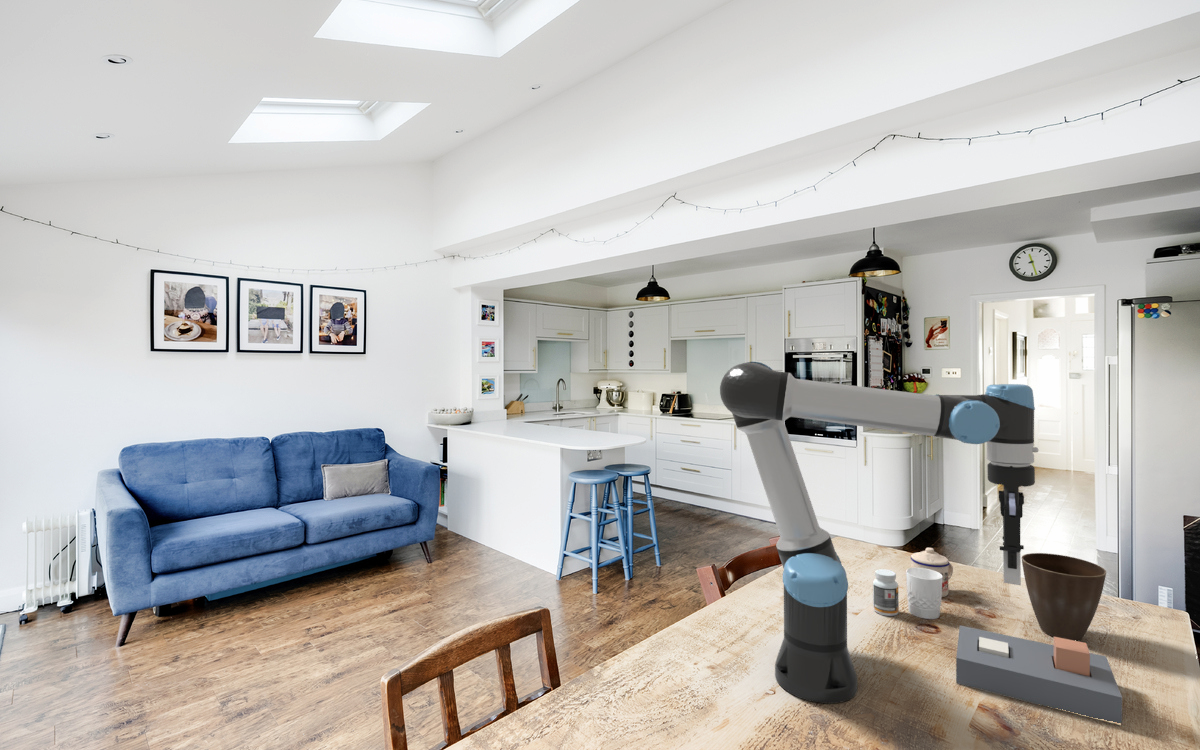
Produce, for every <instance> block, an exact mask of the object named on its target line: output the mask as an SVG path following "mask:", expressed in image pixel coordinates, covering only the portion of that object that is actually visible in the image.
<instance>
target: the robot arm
mask: <svg viewBox="0 0 1200 750" xmlns="http://www.w3.org/2000/svg"><path fill="white" fill-rule="evenodd" d="M719 396H720V399H721V402H722V403H723V405H724V407H725V408H726V409H727V410H728V411H729V412H730V413H731V414H732V417H733V419H734V422H735V426H736V429H738V430H739V431H741V432H743V433H744V434H745V435H746V437H747V440H748V443H749V446H750V449H751V452H752V456H753V458H754V461H755V464H756V467H757V470H758V474H759V476H760V479H761V482H762V486H763V488H764V491H765V495H766V497H767V500H768V504H769V506H770V509H771V513H772V515H773V519H774V521H775V524H776V528H777V531H778V533H779V534H778V535H779V539H778V540H777V542H776V545H775V546H776V549H777V552H778V556H779V559H780V562H781V565H782V568H783V571H782V583H783V639H782V643H781V645H780V648H779V650H778V651H779V652H778V653H777V656H776V660H775V663H774V664H775V665H774V676H775V680H776V681H777V683H778V684H779V686H780V687H781V688H782V689H783V690H785V691H787V692H788V693H790V694H791V695H793V696H796V697H797V698H799V699H803V700H806V701H809V702H814V703H820V704H839V703H840V704H841V703H843V702H847V701H850V700H851V699H852V698H853V699H854V697H855V695H856V694H857V693H858V676H857V672H856V669H855V667H854V664H853V661H852V657H851V654H850V652H849V648H848V590H849V582H848V581H849V580H848V577H847V572H846V569H845V568H844V566H843V565H842V564H843V563H842V561H841V559H840V556H839V555H838V554H837V552H836V549H835V546H834V544H833V541H832V538H831V535H830V532H828V531H827V530H825V529H823V528H821V527H820V525H819V522H818V518H817V515H816V513H815V510H814V506H813V504H812V501H811V498H810V495H809V492H808V490H807V487H806V482H805V481H804V478H803V474H802V471H801V468H800V466H799V463H798V460H797V459H798V458H797V457H796V453H795V451H794V448H793V446H792V441H791V438H790V435H789V432H788V429H787V427H786V424H785V423H786V422H785V421H786V420H788V419H789V418H797V419H798V418H799V419H804V420H805V419H806V420H814V421H818V422H819V421H822V422H828V423H835V424H840V425H841V424H843V425H851V426H857V427H864V428H871V429H878V430H887V431H894V432H901V433H909V434H915V435H923V436H930V437H937V438H943V439H949V440H954V441H955V440H957V441H960V442H962V443H964V444H969V445H970V444H971V445H981V444H985V443H986V459H987V460H988V461H989V462H988V463H987V468H986V469H987V481H989V482H990V483H992V484H995V485H1002V487H1003V490H998V502H999V503H1000V504H999V510H1000V515H1001V516H1002V526H1003V528H1002V533H1003V535H1002V545H1003V546H1002V545H999V550H1000V551H1002V556H1003V557H1002V559H1003V561H1002V562H1003V566H1002V567H1003V569H1002V570H1003V574H1002V575H1003V576H1002V577H1003V583H1004V584H1010V585H1015V586H1022V583H1021V582H1022V578H1021V577H1022V576H1021V575H1022V574H1021V572H1022V571H1021V570H1022V568H1021V563H1022V558H1021V551H1022V550H1024V549H1025V546H1024V545H1023V544H1021V519H1022V518H1023V512H1024V511H1023V505H1024V504H1025V495H1024V492H1020V490H1019V488H1020V487H1031V486H1033V485H1035V483H1036V474H1035V472H1036V471H1035V470H1036V469H1035V467H1034V465H1032V464H1033V463H1035V453H1038V452H1039V448H1038V447H1035V410H1036V408H1035V399H1034V391H1033V388H1032V387H1031V386H1030V385H1027V384H1021V383H1020V384H1018V383H1016V384H1015V383H1012V384H1011V383H1010V384H1009V383H1001V384H1000V383H999V384H995V383H994V384H989V385H988V386H986V391H985V393H983V394H977V395H976V394H973V395H972V394H970V395H969V394H934V395H933V394H928V393H927V394H924V393H918V392H917V393H916V392H910V391H900V390H891V389H884V388H876V387H869V386H867V387H866V386H861V385H860V386H858V385H851V384H841V383H835V382H826V381H817V380H809V379H801V378H795V377H794V376H793V374H792V372H786V371H778V370H773V368H771V367H770V366H768V365H767V364H765V363H762V362H759V361H749V362H748V361H747V362H742V363H739V364H736V365H734V366H732V367H731V368H729V370H727V371H726V373H724V374H723V377H722V379H721V382H720V385H719Z"/></svg>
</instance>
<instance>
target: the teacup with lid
mask: <svg viewBox="0 0 1200 750" xmlns="http://www.w3.org/2000/svg"><path fill="white" fill-rule="evenodd" d="M910 560H911V568H925V569H930V570H934V571H936V572H939V573H940V574H941V575H942V576H943V579H942V597H941V598H944V597H947V596H948V595H949V580H950V579H951V577H952V576H953V573H954V567H953V565H952V563H950V561H949V559H948V558H947V557H946V556H944V555H941V554H939V553H938V552H936V551H935V549H934V548H933V547H926V548H925V550H922V551H920V552H913V553H912V554H911V555H910Z"/></svg>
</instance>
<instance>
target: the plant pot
mask: <svg viewBox="0 0 1200 750" xmlns="http://www.w3.org/2000/svg"><path fill="white" fill-rule="evenodd" d="M1021 563H1022V571H1023V575H1024V581H1025V586H1026V589H1027V595H1028V597H1029V600H1030V604H1031V606H1032V610H1033V612H1034V613H1033V614H1034V615H1035V617H1036V621H1037V623H1038V626H1039V627H1040V630H1041V631H1042V632H1043V633H1044V634H1046V635H1048V636H1051V637H1053V638H1054V637H1059V638H1064V639H1069V640H1073V641H1075V640H1079V641H1081V640H1083V639H1084V636H1085V635H1086V633H1087V631H1088V629H1089V627H1090V626H1091V624H1092V621H1093V619H1094V617H1095V614H1096V612H1097V610H1098V607H1099V603H1100V600H1101V597H1102V593H1103V590H1104V585H1105V580H1106V576H1107V570H1106V569H1105V568H1103V567H1102V566H1101V565H1098V564H1096V563H1094V562H1091V561H1089V560H1085V559H1082V558H1076V557H1073V556H1068V555H1063V554H1056V553H1047V552H1046V553H1045V552H1044V553H1043V552H1031V553H1026V554H1023V555H1021Z"/></svg>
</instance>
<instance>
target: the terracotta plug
mask: <svg viewBox="0 0 1200 750" xmlns="http://www.w3.org/2000/svg"><path fill="white" fill-rule="evenodd" d="M1053 645H1054V668H1055V669H1059V670H1063V671H1068V672H1072V673H1076V674H1081V675H1085V676H1089V677H1090V653H1091V652H1090V651H1089V648H1088V644H1087V643H1086V642H1082V641H1073V640H1069V639H1064V638H1059V637H1053Z"/></svg>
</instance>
